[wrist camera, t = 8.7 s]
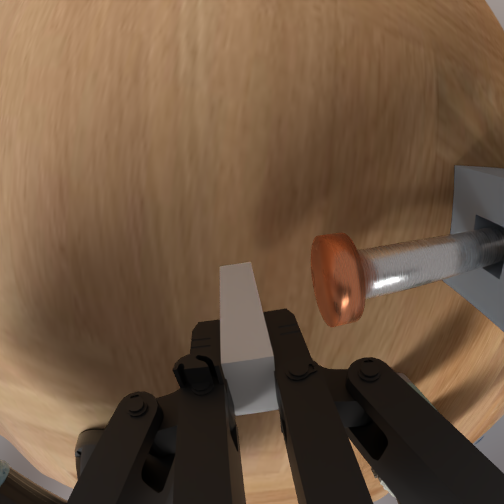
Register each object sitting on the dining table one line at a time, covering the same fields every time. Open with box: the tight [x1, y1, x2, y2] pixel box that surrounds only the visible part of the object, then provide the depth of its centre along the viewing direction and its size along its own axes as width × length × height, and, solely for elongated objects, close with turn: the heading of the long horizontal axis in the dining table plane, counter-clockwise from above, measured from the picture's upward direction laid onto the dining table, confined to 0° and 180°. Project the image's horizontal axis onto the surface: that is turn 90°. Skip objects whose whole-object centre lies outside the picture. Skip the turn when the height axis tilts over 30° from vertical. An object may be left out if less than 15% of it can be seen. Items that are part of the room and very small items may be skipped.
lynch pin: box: [311, 225, 504, 327], centre depth 14 cm, size 15×5×5 cm, turn 97°
